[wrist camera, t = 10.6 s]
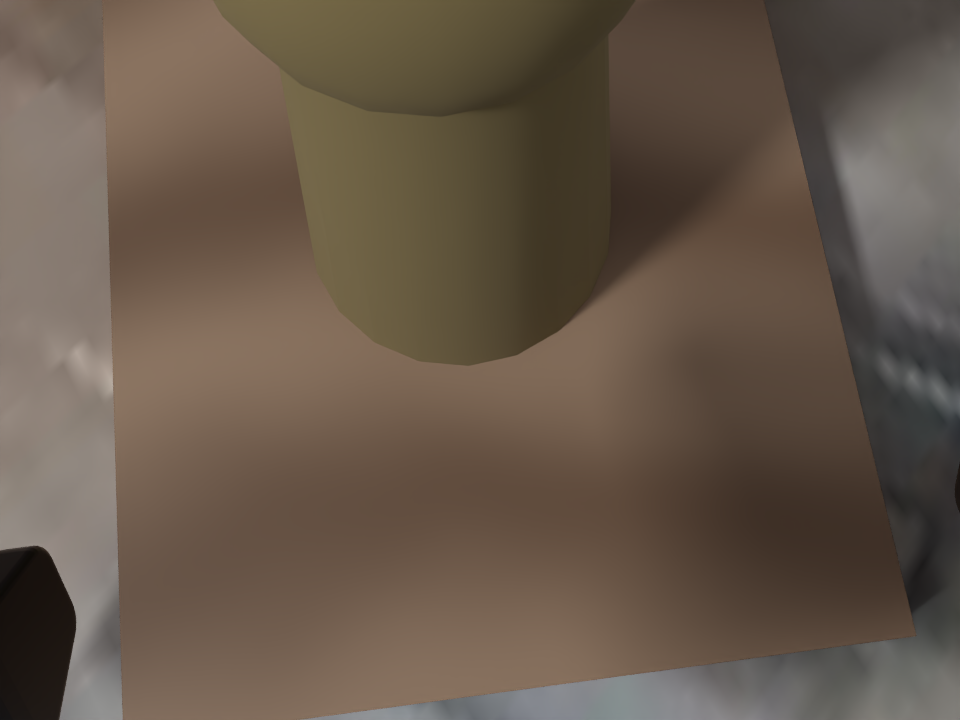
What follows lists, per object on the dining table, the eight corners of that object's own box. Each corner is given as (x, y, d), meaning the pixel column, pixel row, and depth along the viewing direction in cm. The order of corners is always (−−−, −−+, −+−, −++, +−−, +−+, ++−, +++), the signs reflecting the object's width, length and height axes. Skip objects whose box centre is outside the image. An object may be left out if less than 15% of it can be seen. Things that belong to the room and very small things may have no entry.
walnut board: (888, 633, 17) (916, 636, 16) (148, 732, 17) (123, 743, 16) (705, -149, 22) (717, -191, 20) (121, -77, 21) (98, -116, 20)
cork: (640, 119, 18) (835, -522, 8) (573, 399, 17) (699, 81, 6) (357, 56, 19) (179, -628, 8) (269, 323, 18) (-82, -90, 7)
